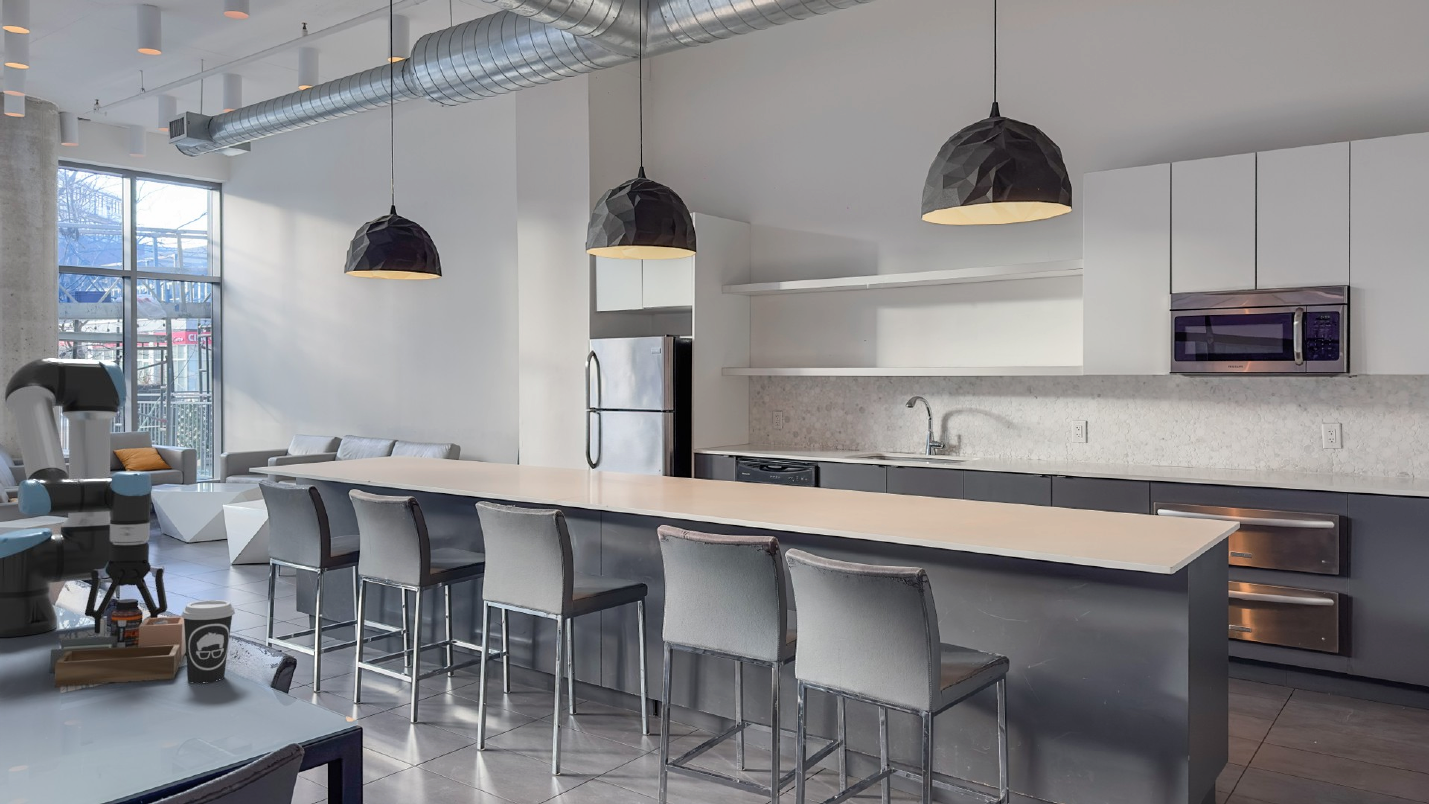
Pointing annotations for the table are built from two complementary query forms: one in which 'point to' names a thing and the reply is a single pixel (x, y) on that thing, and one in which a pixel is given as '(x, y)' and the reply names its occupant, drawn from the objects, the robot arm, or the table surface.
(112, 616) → the supplement bottle
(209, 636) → the coffee cup
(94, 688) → the table surface
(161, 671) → the trough
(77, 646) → the pale green flat panel
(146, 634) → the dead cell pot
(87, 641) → the cradle base
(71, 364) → the robot arm
